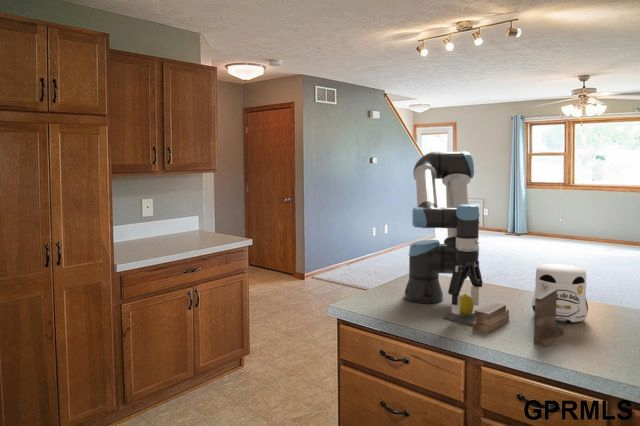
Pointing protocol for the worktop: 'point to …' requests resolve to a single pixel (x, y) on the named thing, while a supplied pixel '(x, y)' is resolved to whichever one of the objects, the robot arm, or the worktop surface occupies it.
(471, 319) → the rubber mat
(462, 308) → the lemon
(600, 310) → the worktop surface
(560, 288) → the milk container
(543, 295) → the wooden blocks
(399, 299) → the worktop surface
